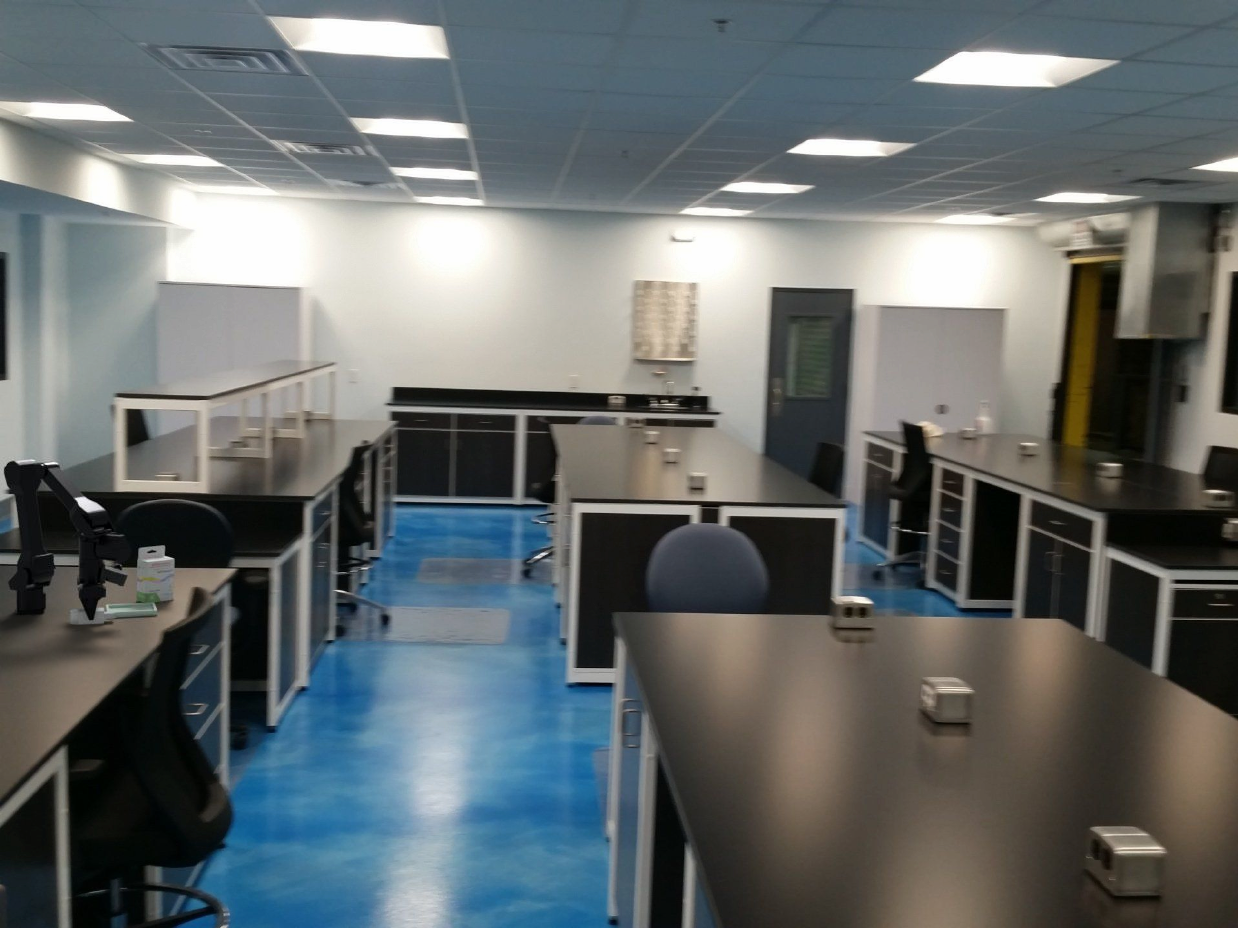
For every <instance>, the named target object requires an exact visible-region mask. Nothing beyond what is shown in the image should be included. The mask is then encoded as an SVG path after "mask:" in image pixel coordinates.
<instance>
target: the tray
mask: <svg viewBox="0 0 1238 928" xmlns="http://www.w3.org/2000/svg"><path fill="white" fill-rule="evenodd" d="M109 611H114V619H115V618H116V619H117V618H135V617H151V616H152V617H153V616H154V617H155V616H158V609H157V606H156V602H153V603H143V602H136V603H135V602H134V603H115V604H105V612H109Z"/></svg>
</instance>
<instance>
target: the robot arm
mask: <svg viewBox="0 0 1238 928" xmlns="http://www.w3.org/2000/svg"><path fill="white" fill-rule="evenodd" d="M3 475H4V478H5V479H4V480H5V483H6V486H7V488H8V489H9V491H11V493H12V494H13V495H14V497H15V498H14V499H15V505H16V513H17V521H18V522H17V523H18V528H19V536H20V543H21V553H20V555H19V557H18V559H17V561H16V569H17V570H16V573H15V574H13V576H12V577H11V578H10V579H9V580H8V581H7V583H8V587H9V590H12V591H15V593H16V596H15V598H16V600H15V602H16V603H15V604H16V607H15V615H22V614H23V615H24V614H28V615H29V614H43V613H45V610H46V609H47V592H46V591H44V587H50V585H51V581H52V579H53V577H54V576H55V569H57V568H56V565H55V557H54V554H53V553H48V551H47V550H46V549H45V547H44V542H43V534H42V526H41V519H40V513H39V510H40V509H39V504H38V503H39V502H38V495H37V492H38V491H39V488H40V487H41V484H42V481H43V482H44V484H45V485H46V486H47V487H48V488H49V489H50V490H51V491H52V493H53V494H54V495H55V496H56V497H57V498H58V499H59V500H60V502H61V503H62V504H63V506H65V507H66V508H67V510H68V512H69V519H70V521H71V522H72V524H73V525H74V527H75V529H76V530H77V532H75V534H73V535H72V536H71V538H72V539H73V540H78V575H77V576H76V585H77V586H79V587H77V591H78V592H77V593H78V599H79V601H80V603H81V606H82V607H83V608H82V609H84V610H85V612H86V614H87V617H88V619H89V620H94V616H95V612H96V608H98V604H99V601H100V600H102V599H104V598H106V597H107V589H106V588H107V587H106V586H105V585H104V584H106V582H109V583H111V584H115V585H117V586H119V587H124V586H125V583H126V581H127V579H128V576H129V573H128V572H127V571H126V570H123V566H122V564H123V563H125V562H127V561H128V560H129V559H130V556H131V554H132V547H131V544H130V543H129V541H128V540H126V535H125V534H118V532H117V530H116V527H115V526H114V524H113V523H112V521H111V519H110V516H109V514H108V511H107V510H106V509H105V508H104V507H103V506H101V505H100V504H99V503H97V502H96V501H93V500H90V499H89V498H87V497H86V496H84V494H83V493H82V492H81V490H79V488H78V487H77V486H76V485H75V484H74V483H73V481H71V480H70V478H69V477H68V475H66V474H65V473H64V471H63V470H62V469H61V467H60V464H59V463H57V462H56V461H46V462H37V460H35V459H33V458H30V459H29V458H28V459H19V460H18V459H17V460H11V461H8V462H7V464H6V465H5V466H3ZM105 561H108V562H114V564H113V565H112V566H111V565H110V566H109V565H108V566H107V565H106V563H105ZM115 562H116V563H115ZM120 563H121V564H120Z"/></svg>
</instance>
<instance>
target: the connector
mask: <svg viewBox="0 0 1238 928" xmlns="http://www.w3.org/2000/svg"><path fill="white" fill-rule="evenodd" d="M69 614H70V615H69V621H70V622H69V623H70V625H74V626H75V625H76V626H77V625H99V624H105V620H113V619H115V618H114V611H109V612H106V611H105V607H97V608H96V612H95V616H94V620H89V619H88V617H87V614H86V612H85V610H84V608H75V609H71V610H70V611H69Z"/></svg>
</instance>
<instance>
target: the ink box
mask: <svg viewBox="0 0 1238 928" xmlns="http://www.w3.org/2000/svg"><path fill="white" fill-rule="evenodd" d="M151 551H155V552H151ZM149 552H150V553H149ZM165 552H166V546H165V545H156V546H155V545H154V546H146V547H139V548H138V554H137V555H138V556H137V567H136V568H137V569H136V573H137V574H136V581H137V582H136V601H138V602H139V603H153V602H154V603H161V602H166V601H172V600H173V601H174V597H175V596H174V593H175V592H174V589H175V558H173V557H170V556H166V555H165Z"/></svg>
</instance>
